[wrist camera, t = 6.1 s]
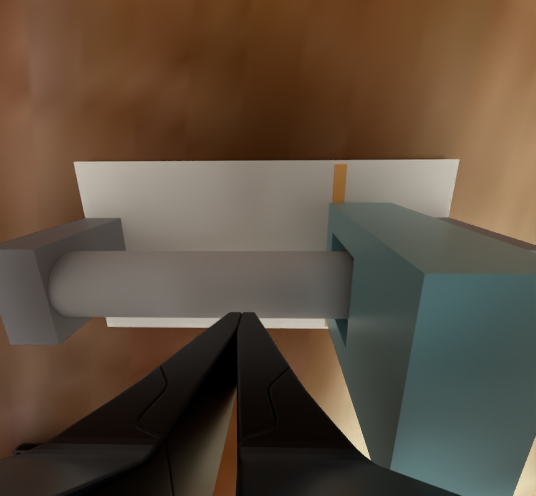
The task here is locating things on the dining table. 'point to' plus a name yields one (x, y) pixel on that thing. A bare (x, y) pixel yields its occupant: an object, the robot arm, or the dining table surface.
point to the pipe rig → (206, 243)
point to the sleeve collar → (438, 347)
